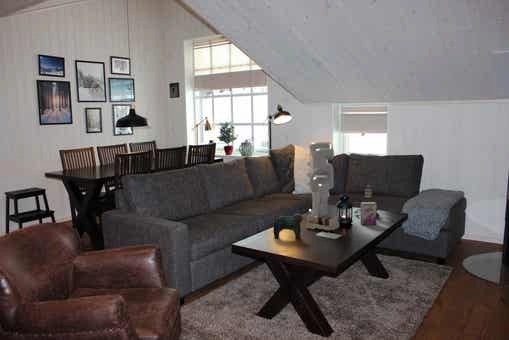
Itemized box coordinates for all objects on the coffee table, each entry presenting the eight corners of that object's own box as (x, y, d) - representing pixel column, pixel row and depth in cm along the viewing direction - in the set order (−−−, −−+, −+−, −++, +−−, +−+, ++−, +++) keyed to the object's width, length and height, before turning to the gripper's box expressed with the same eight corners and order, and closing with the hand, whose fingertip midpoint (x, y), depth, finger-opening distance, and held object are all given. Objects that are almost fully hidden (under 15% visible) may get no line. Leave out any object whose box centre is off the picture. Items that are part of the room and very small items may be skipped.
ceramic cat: (303, 237, 290) (302, 208, 287) (302, 240, 284) (302, 210, 281) (274, 236, 293) (273, 208, 290) (273, 239, 287) (272, 210, 284)
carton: (306, 227, 311) (306, 216, 310) (317, 223, 323) (317, 211, 321) (328, 232, 299) (328, 219, 298) (339, 227, 311) (339, 215, 309)
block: (313, 227, 313) (313, 216, 312) (317, 225, 317) (317, 215, 315) (328, 229, 305) (328, 219, 304) (331, 228, 309) (331, 217, 308)
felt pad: (315, 235, 293) (315, 234, 293) (322, 232, 300) (322, 231, 300) (335, 239, 284) (335, 238, 284) (341, 235, 291) (341, 235, 291)
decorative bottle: (387, 218, 331) (388, 187, 327) (362, 221, 326) (363, 189, 322) (373, 212, 352) (373, 182, 348) (349, 214, 347) (350, 184, 344)
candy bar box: (361, 225, 315) (361, 203, 312) (360, 223, 320) (360, 202, 317) (376, 225, 314) (377, 203, 311) (375, 223, 319) (375, 202, 316)
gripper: (324, 198, 317) (324, 221, 319) (311, 202, 304) (312, 227, 307) (333, 199, 312) (333, 223, 315) (321, 203, 299) (321, 228, 302)
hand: (322, 225), depth 311 cm, fingers closed on block, 5 cm apart
